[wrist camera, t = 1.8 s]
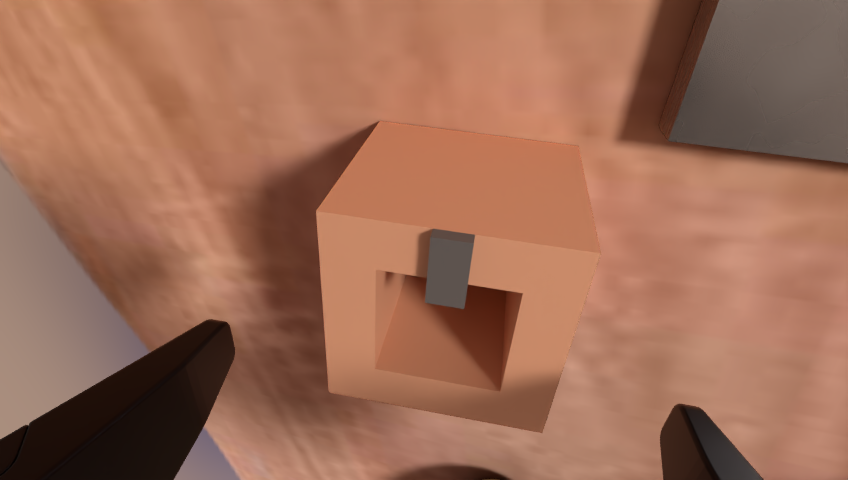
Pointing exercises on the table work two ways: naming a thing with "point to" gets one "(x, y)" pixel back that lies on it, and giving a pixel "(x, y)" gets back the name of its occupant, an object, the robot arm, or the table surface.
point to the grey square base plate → (764, 79)
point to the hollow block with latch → (455, 272)
